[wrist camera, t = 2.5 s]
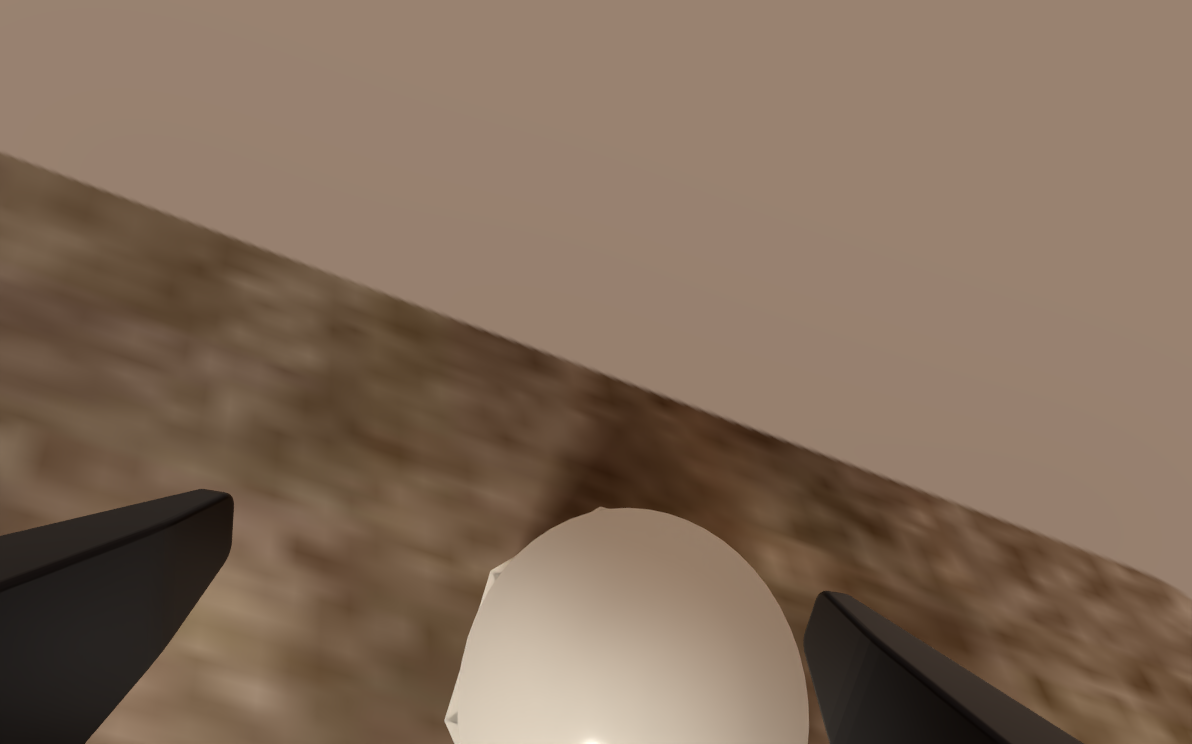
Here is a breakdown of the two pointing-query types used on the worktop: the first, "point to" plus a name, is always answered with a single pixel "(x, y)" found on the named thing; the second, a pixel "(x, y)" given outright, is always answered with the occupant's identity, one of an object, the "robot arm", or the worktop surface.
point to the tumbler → (629, 642)
